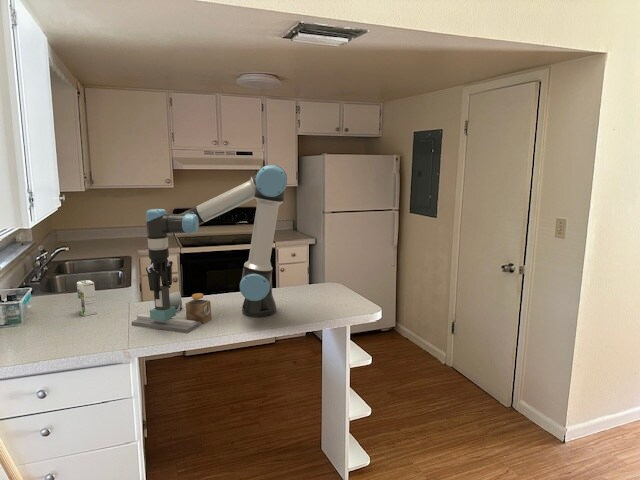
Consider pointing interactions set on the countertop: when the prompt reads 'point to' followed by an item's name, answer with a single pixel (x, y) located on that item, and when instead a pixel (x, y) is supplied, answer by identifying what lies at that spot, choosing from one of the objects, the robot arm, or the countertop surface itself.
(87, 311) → the syrup box
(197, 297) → the button
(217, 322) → the countertop surface
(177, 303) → the ceramic mug
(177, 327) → the rail
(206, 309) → the gauge cabinet
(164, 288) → the carriage
